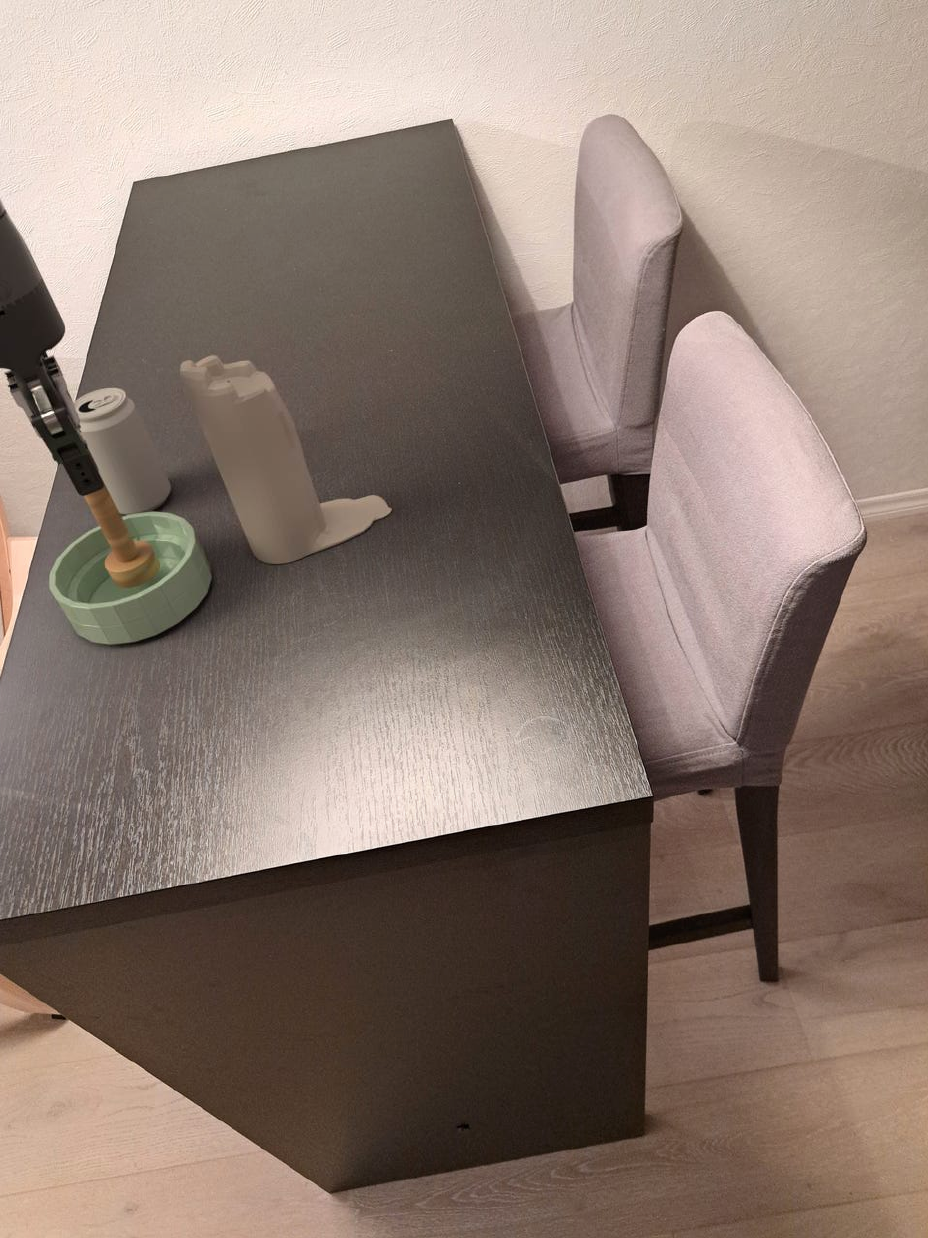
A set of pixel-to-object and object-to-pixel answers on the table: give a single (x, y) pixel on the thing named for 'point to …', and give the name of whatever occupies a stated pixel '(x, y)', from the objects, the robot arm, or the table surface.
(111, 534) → the pestle
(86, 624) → the bowl
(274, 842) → the table surface
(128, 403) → the beverage can
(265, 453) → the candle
